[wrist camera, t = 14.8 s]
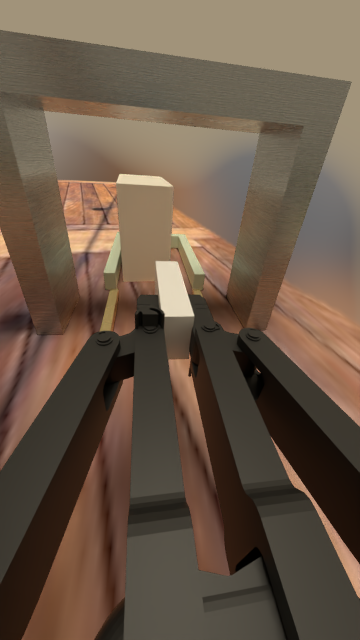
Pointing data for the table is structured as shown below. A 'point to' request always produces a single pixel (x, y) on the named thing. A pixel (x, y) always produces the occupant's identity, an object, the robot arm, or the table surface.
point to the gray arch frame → (161, 107)
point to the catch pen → (177, 241)
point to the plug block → (144, 224)
